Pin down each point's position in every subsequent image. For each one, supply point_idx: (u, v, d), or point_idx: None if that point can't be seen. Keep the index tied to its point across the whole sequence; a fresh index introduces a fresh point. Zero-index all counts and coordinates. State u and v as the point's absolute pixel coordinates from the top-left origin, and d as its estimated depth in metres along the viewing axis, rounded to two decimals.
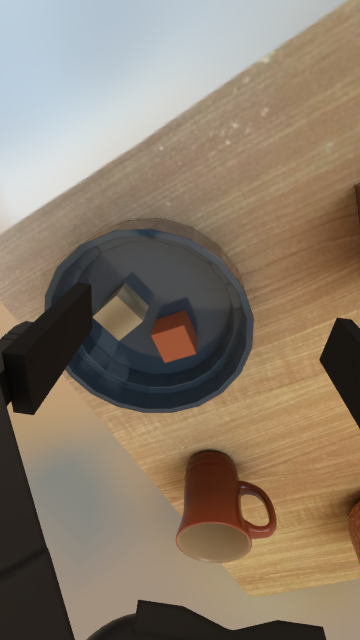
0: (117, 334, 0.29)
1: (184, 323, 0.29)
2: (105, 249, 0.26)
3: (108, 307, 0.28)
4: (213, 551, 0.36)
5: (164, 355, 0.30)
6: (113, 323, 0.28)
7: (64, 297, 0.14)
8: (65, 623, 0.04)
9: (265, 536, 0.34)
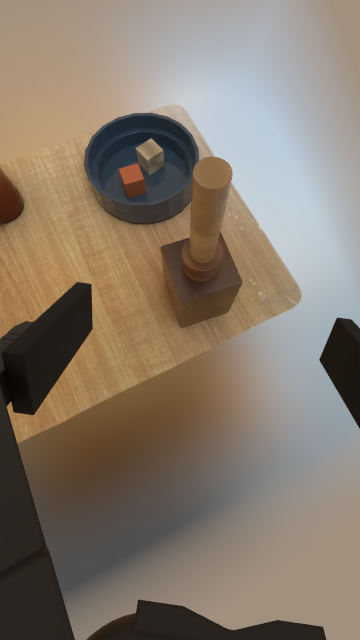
0: (139, 148, 0.52)
1: (143, 181, 0.50)
2: (186, 152, 0.53)
3: (156, 146, 0.52)
4: None
5: (124, 168, 0.50)
6: (146, 146, 0.52)
7: (64, 297, 0.14)
8: (65, 623, 0.04)
9: None
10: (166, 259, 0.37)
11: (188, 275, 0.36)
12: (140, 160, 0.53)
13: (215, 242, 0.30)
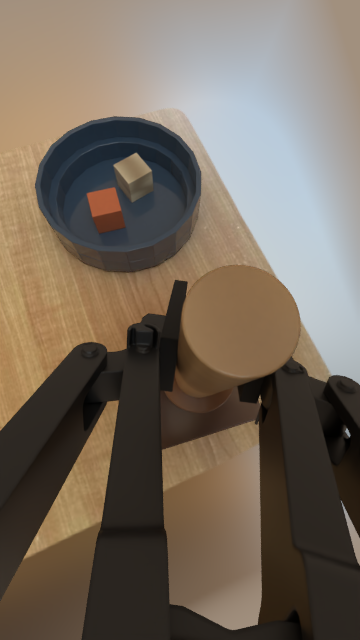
0: (119, 165, 0.37)
1: (121, 213, 0.35)
2: (183, 174, 0.38)
3: (143, 164, 0.37)
4: None
5: (94, 193, 0.35)
6: (129, 164, 0.37)
7: (174, 293, 0.16)
8: (165, 609, 0.04)
9: None
10: None
11: None
12: (120, 182, 0.39)
13: None
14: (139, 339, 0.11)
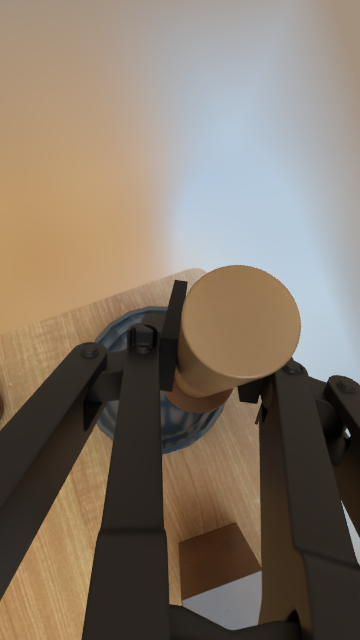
0: None
1: None
2: None
3: None
4: None
5: None
6: None
7: (174, 293, 0.16)
8: (165, 609, 0.04)
9: None
10: None
11: None
12: None
13: None
14: (139, 339, 0.11)
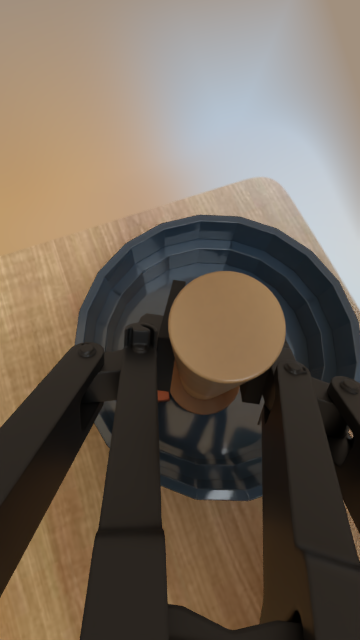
0: None
1: None
2: (311, 307, 0.23)
3: None
4: None
5: None
6: None
7: (172, 293, 0.16)
8: (164, 608, 0.04)
9: None
10: None
11: None
12: None
13: None
14: (136, 339, 0.11)
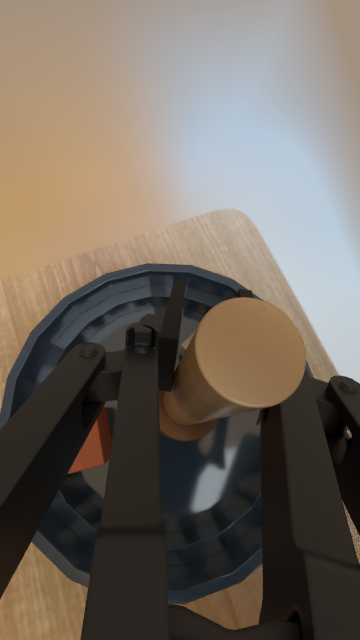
0: None
1: None
2: None
3: None
4: None
5: None
6: None
7: (173, 293, 0.16)
8: (164, 609, 0.04)
9: None
10: None
11: None
12: None
13: None
14: (137, 339, 0.11)
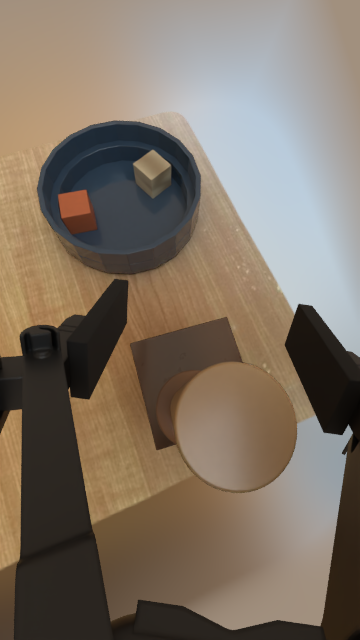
0: (138, 163, 0.38)
1: (90, 215, 0.36)
2: (183, 178, 0.38)
3: (161, 159, 0.38)
4: None
5: (65, 195, 0.36)
6: (148, 161, 0.38)
7: (107, 292, 0.15)
8: (104, 609, 0.04)
9: None
10: (138, 367, 0.22)
11: None
12: (139, 180, 0.39)
13: None
14: (35, 344, 0.10)
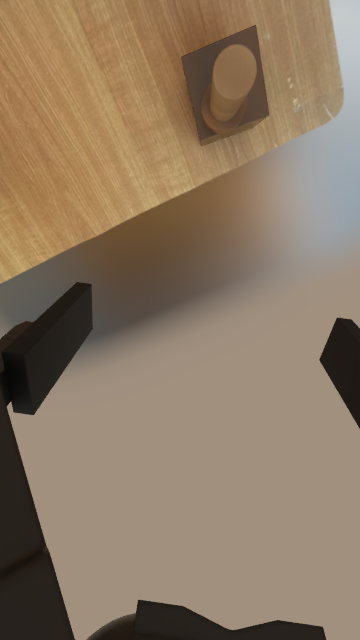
0: None
1: None
2: None
3: None
4: None
5: None
6: None
7: (64, 297, 0.14)
8: (65, 623, 0.04)
9: None
10: (187, 78, 0.32)
11: (219, 133, 0.34)
12: None
13: None
14: None
